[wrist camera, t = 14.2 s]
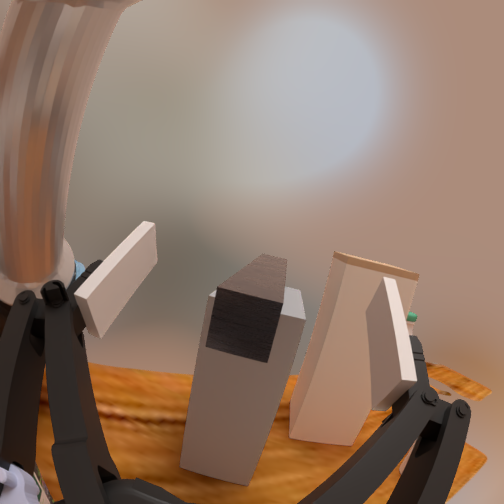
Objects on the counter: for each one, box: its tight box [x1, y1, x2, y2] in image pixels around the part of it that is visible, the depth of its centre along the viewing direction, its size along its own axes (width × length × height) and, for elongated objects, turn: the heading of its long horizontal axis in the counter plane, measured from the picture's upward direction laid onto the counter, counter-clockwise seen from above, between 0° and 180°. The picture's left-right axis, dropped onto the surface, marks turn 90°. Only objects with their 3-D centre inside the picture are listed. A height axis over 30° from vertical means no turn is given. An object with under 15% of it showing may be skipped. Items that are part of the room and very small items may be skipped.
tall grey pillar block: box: [179, 287, 306, 486], centre depth 33 cm, size 9×14×24 cm, turn 173°
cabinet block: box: [289, 251, 419, 446], centre depth 43 cm, size 11×12×30 cm
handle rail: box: [205, 254, 287, 363], centre depth 28 cm, size 4×26×4 cm, turn 172°
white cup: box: [399, 439, 417, 475], centre depth 29 cm, size 7×7×10 cm
